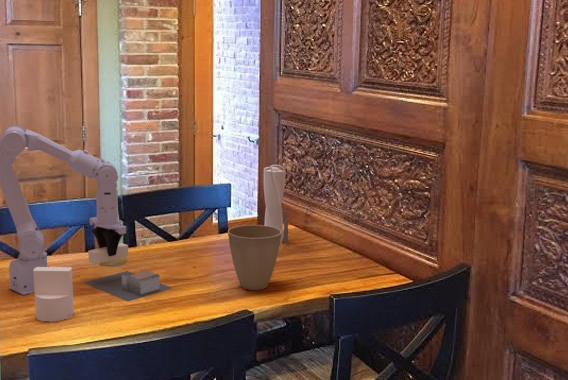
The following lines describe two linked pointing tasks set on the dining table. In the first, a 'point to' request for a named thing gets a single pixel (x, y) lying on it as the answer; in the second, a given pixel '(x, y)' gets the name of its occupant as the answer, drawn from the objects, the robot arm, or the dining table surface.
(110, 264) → the bread roll
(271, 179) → the skyscraper
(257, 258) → the plant pot
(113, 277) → the mat
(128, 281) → the end cap
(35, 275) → the base with upright slab
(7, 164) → the robot arm
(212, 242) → the dining table surface
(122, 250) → the pale grey rectangular bar
